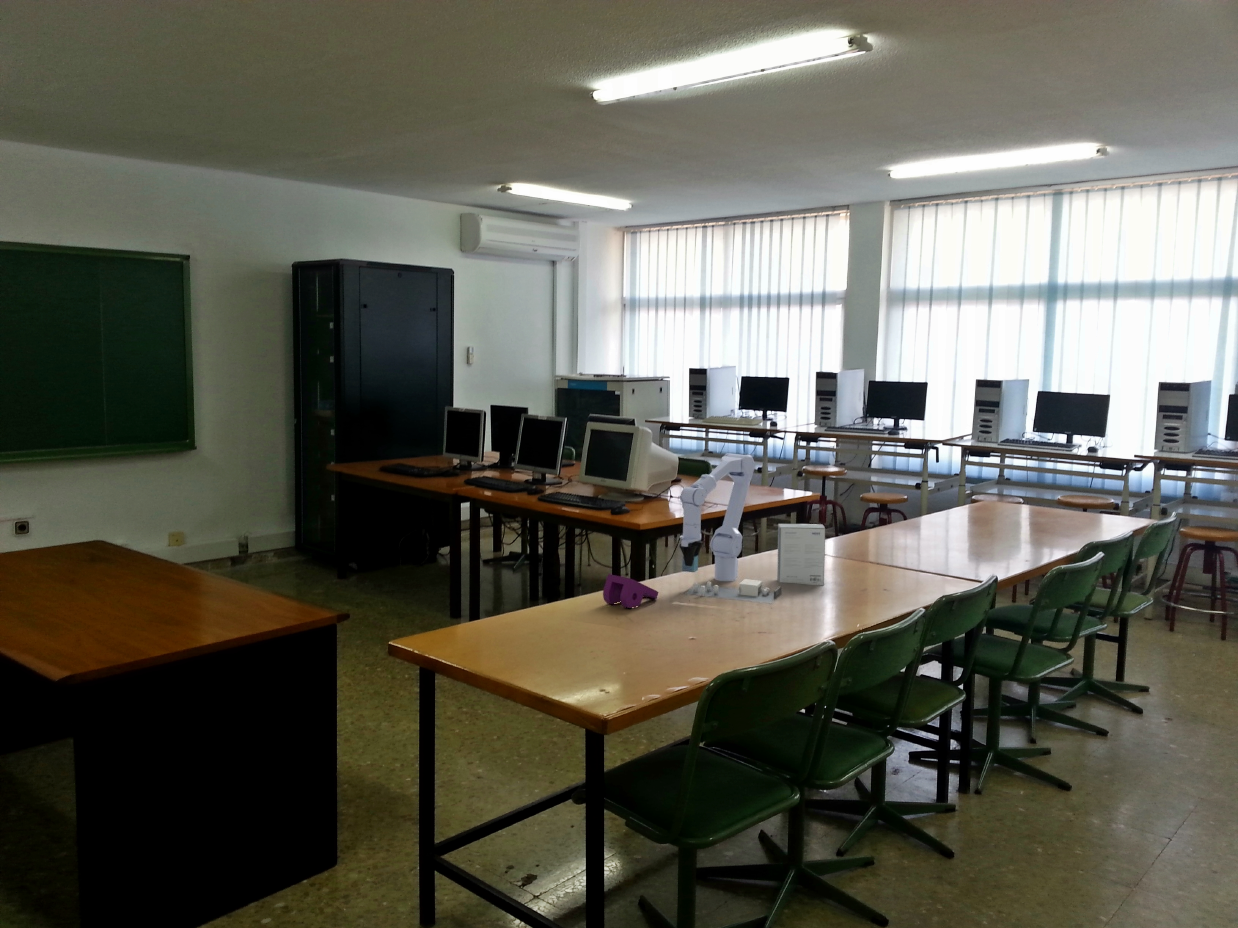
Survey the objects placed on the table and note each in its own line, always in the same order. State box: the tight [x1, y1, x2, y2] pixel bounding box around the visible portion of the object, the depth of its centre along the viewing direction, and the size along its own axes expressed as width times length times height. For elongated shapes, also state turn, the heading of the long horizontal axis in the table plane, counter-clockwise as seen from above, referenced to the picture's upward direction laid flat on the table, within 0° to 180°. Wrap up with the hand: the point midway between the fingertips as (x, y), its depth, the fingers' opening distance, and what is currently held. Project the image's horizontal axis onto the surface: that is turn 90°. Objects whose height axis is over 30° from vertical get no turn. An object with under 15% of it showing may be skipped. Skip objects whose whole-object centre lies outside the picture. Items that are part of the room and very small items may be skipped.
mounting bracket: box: [602, 573, 659, 609], centre depth 291 cm, size 9×8×18 cm
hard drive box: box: [776, 523, 826, 586], centre depth 320 cm, size 16×8×20 cm, turn 84°
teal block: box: [681, 555, 699, 573], centre depth 308 cm, size 4×4×5 cm
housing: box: [738, 578, 764, 596], centre depth 302 cm, size 7×6×4 cm
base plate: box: [684, 581, 782, 605], centre depth 301 cm, size 15×28×4 cm, turn 68°
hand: (691, 564), depth 308 cm, fingers closed on teal block, 4 cm apart
